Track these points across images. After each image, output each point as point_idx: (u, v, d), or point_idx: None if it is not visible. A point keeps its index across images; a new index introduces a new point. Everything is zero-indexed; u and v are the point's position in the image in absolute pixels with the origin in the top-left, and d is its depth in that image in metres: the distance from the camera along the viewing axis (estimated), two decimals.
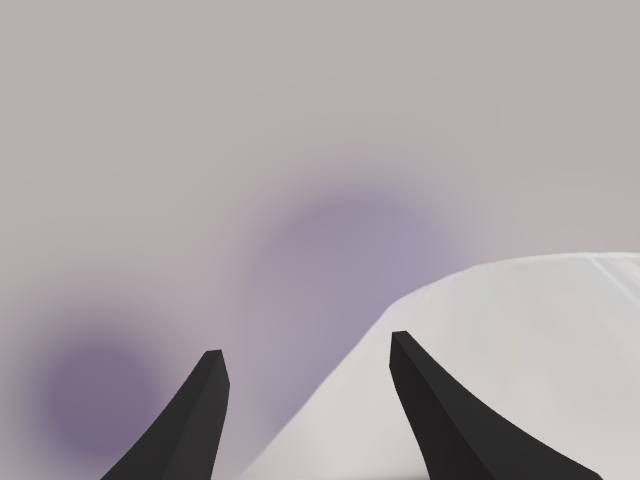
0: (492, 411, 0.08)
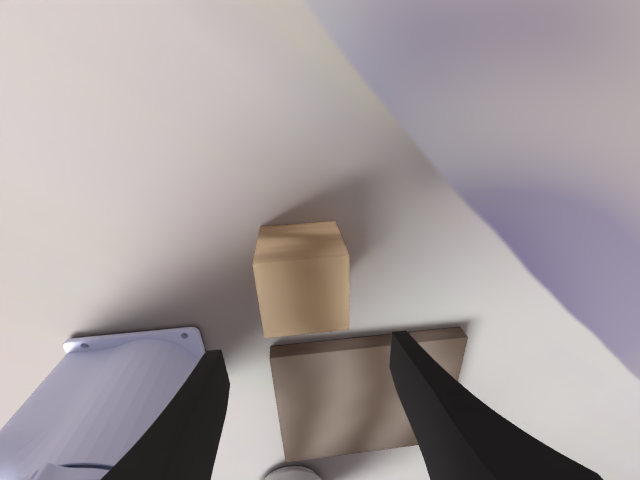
0: (492, 411, 0.08)
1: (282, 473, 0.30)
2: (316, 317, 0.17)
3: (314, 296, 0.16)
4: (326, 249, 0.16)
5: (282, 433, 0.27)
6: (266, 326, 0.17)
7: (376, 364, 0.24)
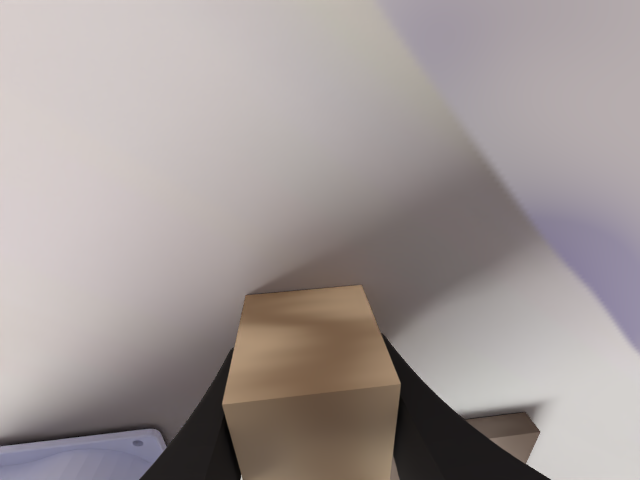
0: (457, 416, 0.08)
1: None
2: (336, 469, 0.10)
3: (335, 443, 0.09)
4: (356, 364, 0.09)
5: None
6: None
7: None
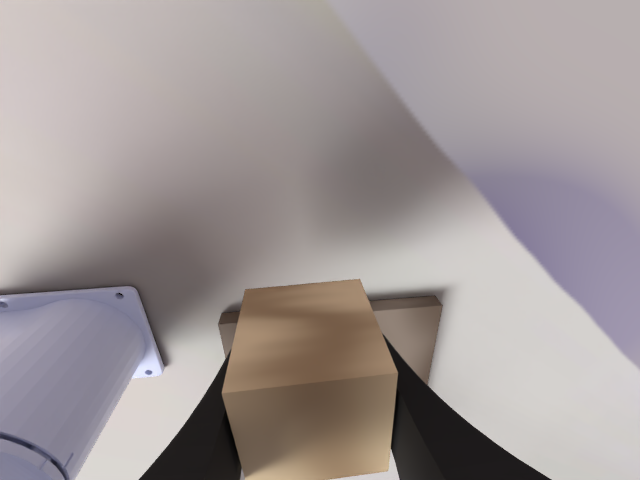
0: (457, 415, 0.08)
1: None
2: (335, 459, 0.10)
3: (334, 432, 0.09)
4: (354, 354, 0.09)
5: None
6: (251, 476, 0.10)
7: None
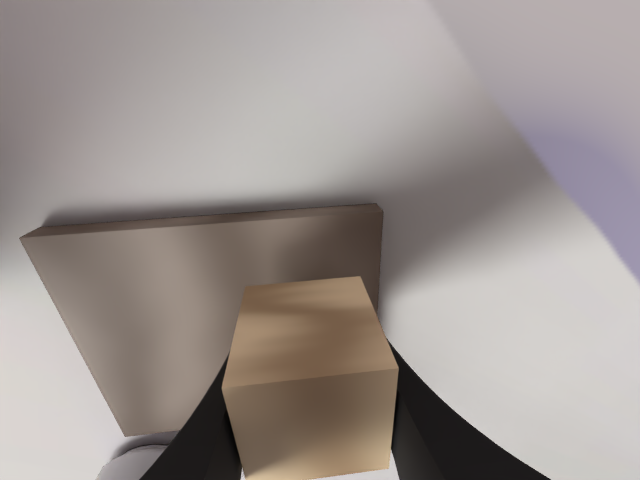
0: (457, 415, 0.08)
1: (129, 455, 0.20)
2: (335, 456, 0.10)
3: (334, 429, 0.09)
4: (355, 350, 0.09)
5: (101, 387, 0.17)
6: (251, 473, 0.10)
7: (228, 261, 0.14)
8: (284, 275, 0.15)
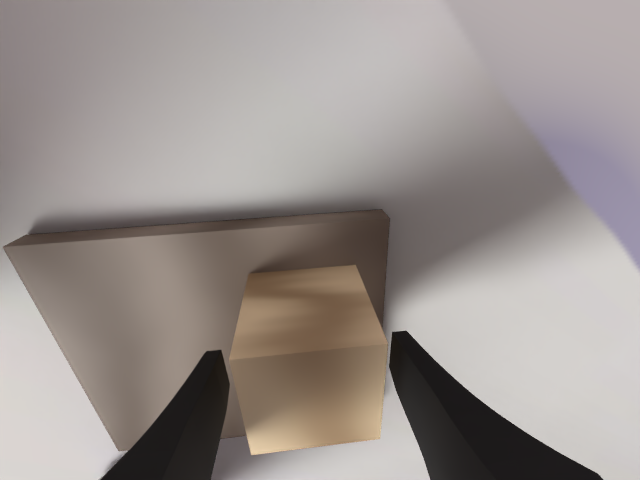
0: (492, 411, 0.08)
1: None
2: (331, 426, 0.11)
3: (330, 400, 0.10)
4: (349, 328, 0.10)
5: (92, 401, 0.16)
6: (254, 440, 0.11)
7: (225, 270, 0.13)
8: None
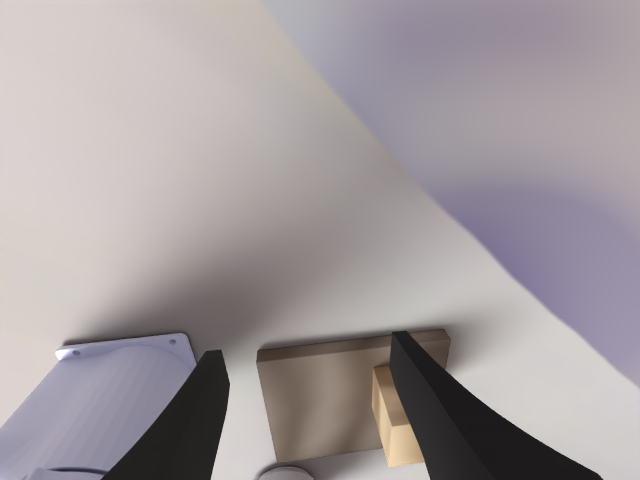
0: (492, 411, 0.08)
1: (274, 473, 0.31)
2: None
3: None
4: None
5: (272, 435, 0.27)
6: (392, 460, 0.22)
7: (361, 367, 0.25)
8: None
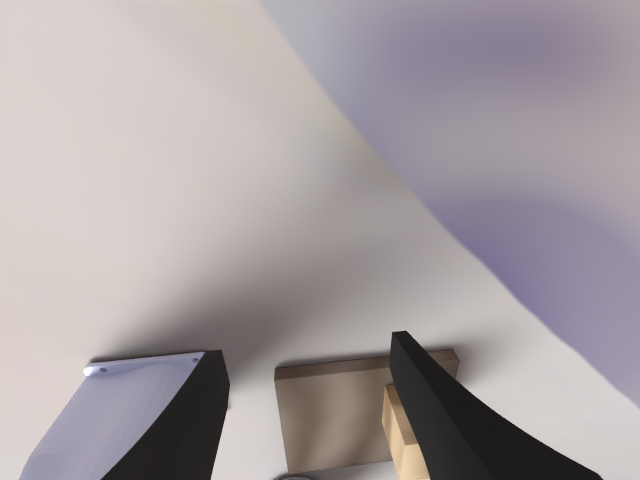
0: (492, 411, 0.08)
1: None
2: None
3: None
4: None
5: (285, 447, 0.28)
6: (403, 476, 0.23)
7: (374, 385, 0.26)
8: None
